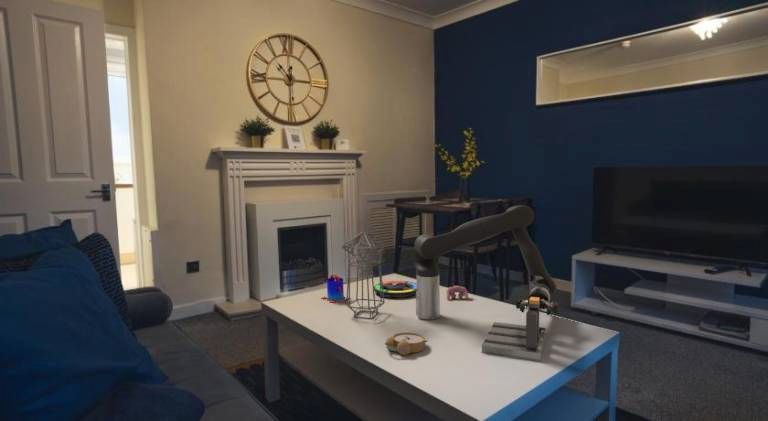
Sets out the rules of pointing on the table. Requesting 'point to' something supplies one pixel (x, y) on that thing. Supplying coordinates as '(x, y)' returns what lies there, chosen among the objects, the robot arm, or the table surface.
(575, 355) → the table surface
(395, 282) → the electronic game
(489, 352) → the grey slotted base
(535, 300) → the orange rectangular block
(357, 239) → the geometric lantern
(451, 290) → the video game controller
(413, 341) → the alarm clock
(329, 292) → the fantasy tower
